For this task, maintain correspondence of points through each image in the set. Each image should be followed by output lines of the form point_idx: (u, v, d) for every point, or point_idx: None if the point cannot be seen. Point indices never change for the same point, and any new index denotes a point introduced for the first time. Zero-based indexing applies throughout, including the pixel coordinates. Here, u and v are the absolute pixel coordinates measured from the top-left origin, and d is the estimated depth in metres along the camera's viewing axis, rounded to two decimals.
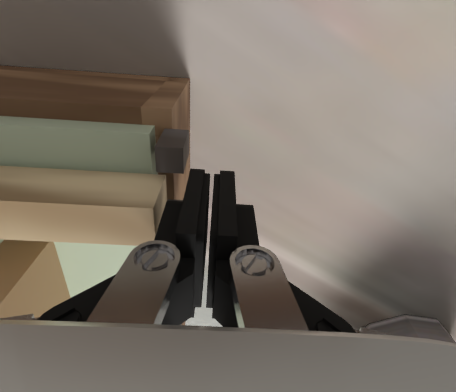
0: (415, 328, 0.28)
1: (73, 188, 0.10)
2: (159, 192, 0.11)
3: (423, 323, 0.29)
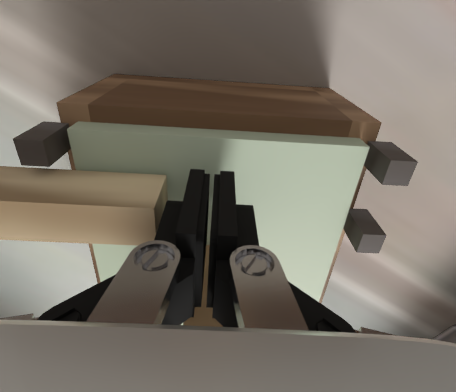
0: None
1: (74, 188, 0.10)
2: (160, 192, 0.11)
3: None
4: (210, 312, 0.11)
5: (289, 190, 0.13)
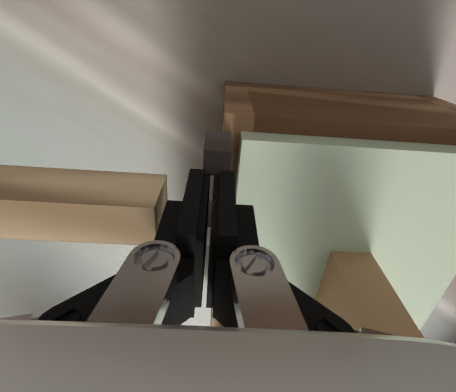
0: None
1: (74, 188, 0.10)
2: (160, 192, 0.11)
3: None
4: (385, 319, 0.11)
5: (439, 199, 0.13)
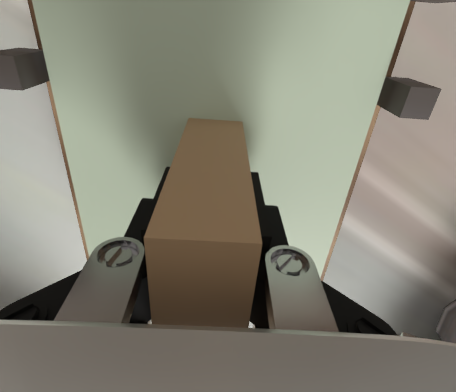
0: None
1: None
2: None
3: None
4: (208, 161, 0.08)
5: (314, 27, 0.09)
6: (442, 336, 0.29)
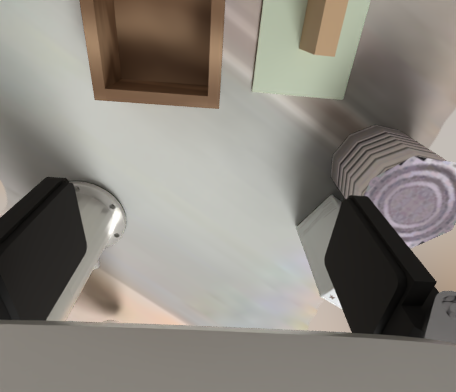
0: (381, 128, 0.39)
1: None
2: None
3: (387, 128, 0.39)
4: None
5: None
6: (333, 177, 0.43)
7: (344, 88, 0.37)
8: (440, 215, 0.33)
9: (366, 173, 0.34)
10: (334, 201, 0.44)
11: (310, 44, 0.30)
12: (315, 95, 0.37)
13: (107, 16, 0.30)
